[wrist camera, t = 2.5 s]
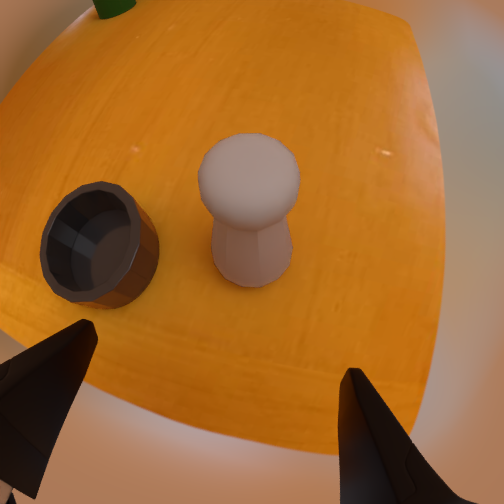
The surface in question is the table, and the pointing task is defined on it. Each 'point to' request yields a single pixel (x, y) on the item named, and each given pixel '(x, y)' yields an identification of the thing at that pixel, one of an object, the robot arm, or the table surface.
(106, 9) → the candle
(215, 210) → the salt shaker
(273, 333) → the table surface
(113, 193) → the holder
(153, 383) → the table surface
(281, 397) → the table surface
